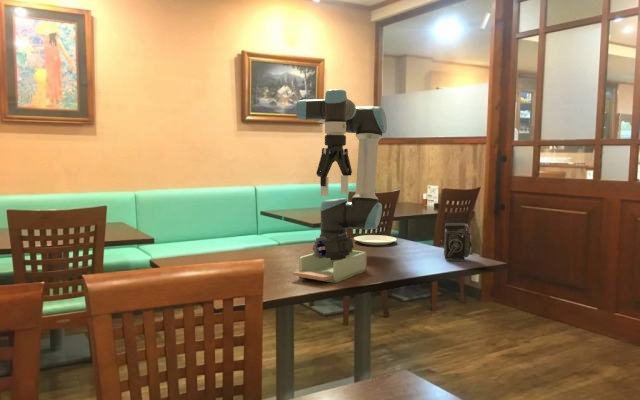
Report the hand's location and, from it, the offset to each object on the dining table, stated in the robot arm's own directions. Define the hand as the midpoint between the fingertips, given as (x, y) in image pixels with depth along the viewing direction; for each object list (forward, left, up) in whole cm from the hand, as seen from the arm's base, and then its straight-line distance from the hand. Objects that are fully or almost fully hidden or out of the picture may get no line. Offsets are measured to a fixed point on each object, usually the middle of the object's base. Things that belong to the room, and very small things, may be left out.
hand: (334, 194), depth 181 cm
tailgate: (0, -10, -27) cm, 29 cm away
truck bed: (0, 0, -29) cm, 29 cm away
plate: (-17, +66, -29) cm, 74 cm away
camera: (+29, +50, -29) cm, 65 cm away
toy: (+1, 0, -24) cm, 24 cm away
